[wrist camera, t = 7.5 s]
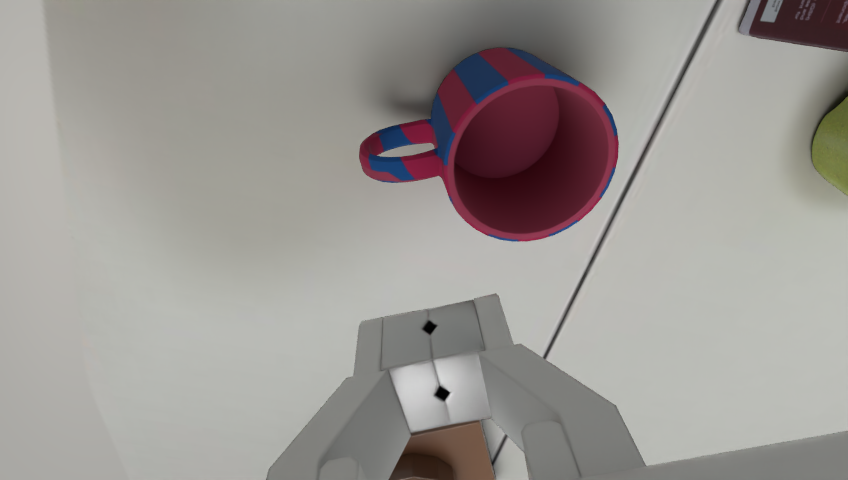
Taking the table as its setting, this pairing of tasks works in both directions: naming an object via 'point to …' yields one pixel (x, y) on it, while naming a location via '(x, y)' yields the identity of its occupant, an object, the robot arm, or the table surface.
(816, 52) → the table surface
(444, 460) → the switch block
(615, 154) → the mug
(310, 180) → the table surface
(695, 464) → the robot arm
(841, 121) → the plant pot
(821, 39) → the supplement box
